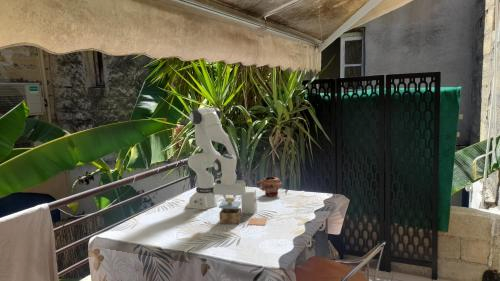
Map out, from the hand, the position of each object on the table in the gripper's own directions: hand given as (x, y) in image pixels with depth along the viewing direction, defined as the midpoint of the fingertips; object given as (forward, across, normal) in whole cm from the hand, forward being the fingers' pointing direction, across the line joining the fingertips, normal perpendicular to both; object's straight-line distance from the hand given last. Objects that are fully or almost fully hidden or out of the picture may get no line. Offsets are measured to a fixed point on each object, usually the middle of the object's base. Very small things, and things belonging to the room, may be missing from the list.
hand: (229, 201), depth 221 cm
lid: (+4, 0, 0) cm, 4 cm away
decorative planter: (+14, -19, -57) cm, 62 cm away
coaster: (+13, -17, 0) cm, 22 cm away
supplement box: (+13, -9, -18) cm, 25 cm away
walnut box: (+13, 0, 0) cm, 13 cm away
